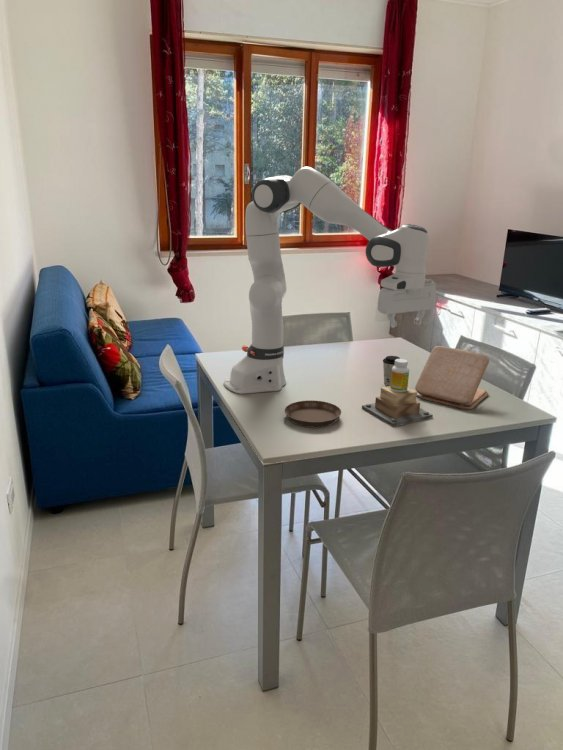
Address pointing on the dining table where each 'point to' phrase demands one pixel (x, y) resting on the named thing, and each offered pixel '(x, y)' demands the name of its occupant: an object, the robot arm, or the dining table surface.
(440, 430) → the dining table surface
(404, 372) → the supplement bottle
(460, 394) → the case
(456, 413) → the dining table surface
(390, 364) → the coffee cup
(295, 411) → the plant saucer
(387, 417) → the tower
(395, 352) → the dining table surface
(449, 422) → the dining table surface
